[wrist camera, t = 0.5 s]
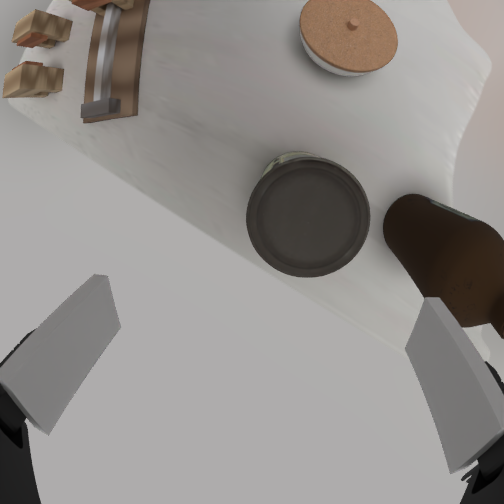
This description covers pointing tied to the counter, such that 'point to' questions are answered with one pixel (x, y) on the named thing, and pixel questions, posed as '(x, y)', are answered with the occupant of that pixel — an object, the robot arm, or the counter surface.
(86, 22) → the counter surface
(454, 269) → the olive oil
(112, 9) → the rail board
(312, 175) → the coffee can
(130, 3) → the block
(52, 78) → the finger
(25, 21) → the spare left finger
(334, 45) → the lidded jar
